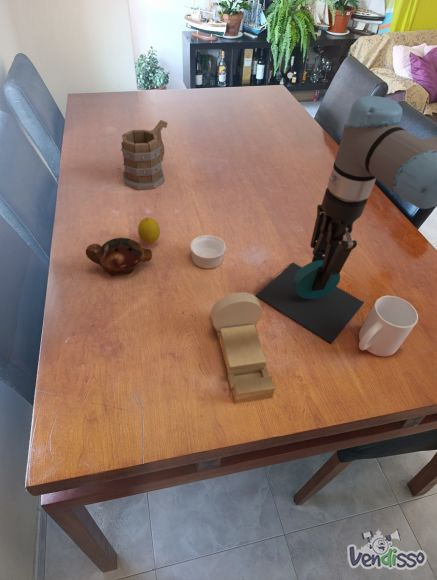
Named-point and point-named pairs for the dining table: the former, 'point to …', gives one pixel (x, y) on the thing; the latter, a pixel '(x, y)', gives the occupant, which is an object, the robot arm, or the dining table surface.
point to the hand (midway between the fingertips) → (315, 283)
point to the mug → (387, 325)
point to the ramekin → (207, 251)
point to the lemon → (148, 230)
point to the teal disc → (306, 279)
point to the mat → (310, 305)
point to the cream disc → (236, 311)
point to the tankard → (143, 157)
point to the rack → (245, 364)
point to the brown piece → (118, 255)
